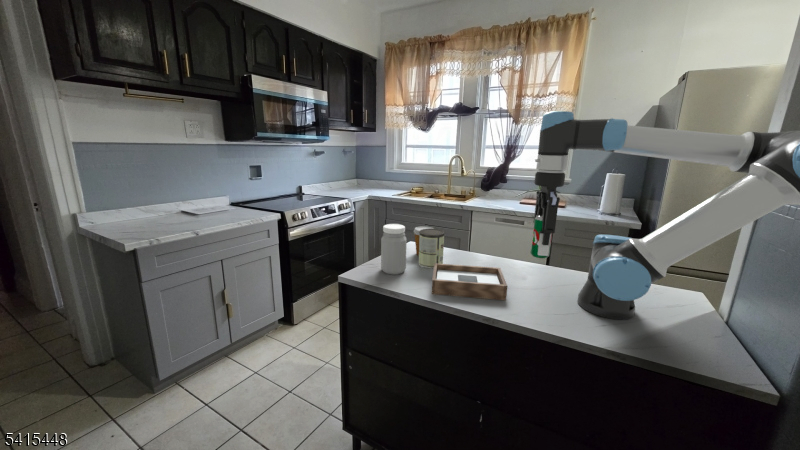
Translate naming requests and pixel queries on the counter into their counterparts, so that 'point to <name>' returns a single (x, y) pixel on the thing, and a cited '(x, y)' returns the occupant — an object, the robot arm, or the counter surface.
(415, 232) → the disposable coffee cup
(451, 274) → the socket plate
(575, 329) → the counter surface
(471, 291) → the open box
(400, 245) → the jar
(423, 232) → the coffee can
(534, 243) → the soda can
